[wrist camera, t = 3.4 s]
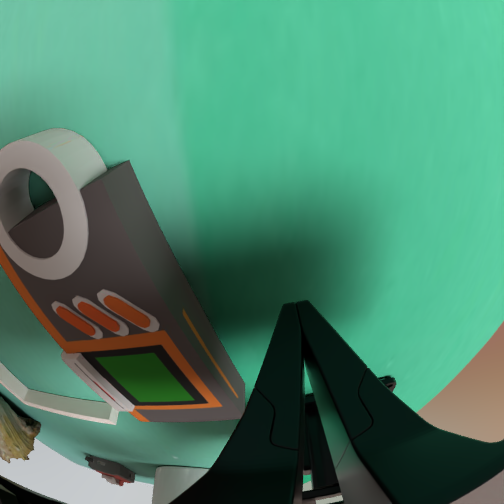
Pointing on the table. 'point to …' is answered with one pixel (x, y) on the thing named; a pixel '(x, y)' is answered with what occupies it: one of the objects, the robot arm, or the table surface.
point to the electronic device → (110, 284)
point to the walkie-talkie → (111, 470)
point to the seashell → (16, 433)
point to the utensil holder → (174, 482)
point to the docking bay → (59, 401)
